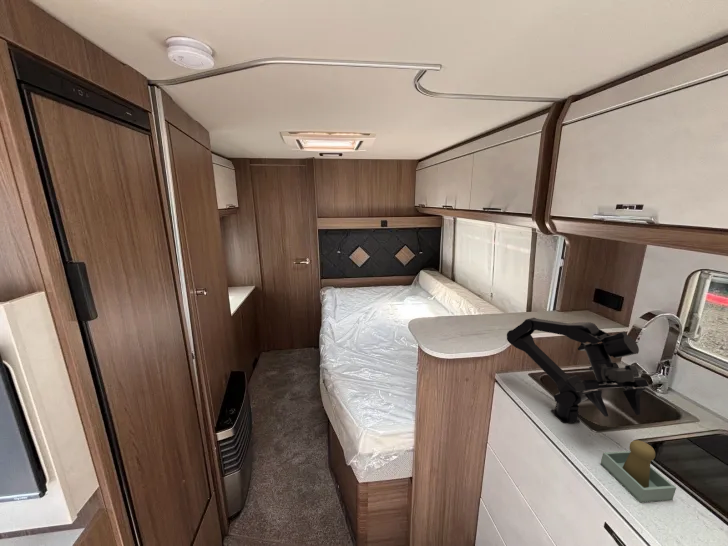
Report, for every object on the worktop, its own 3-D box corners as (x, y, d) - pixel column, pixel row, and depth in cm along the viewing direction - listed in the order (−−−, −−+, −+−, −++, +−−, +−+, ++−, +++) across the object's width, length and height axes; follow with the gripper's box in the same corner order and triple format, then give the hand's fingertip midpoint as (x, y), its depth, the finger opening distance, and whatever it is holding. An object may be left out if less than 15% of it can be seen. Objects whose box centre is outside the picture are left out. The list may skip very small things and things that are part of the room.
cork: (614, 469, 88) (623, 436, 85) (635, 469, 88) (644, 436, 86) (633, 488, 82) (642, 453, 79) (655, 488, 82) (665, 454, 80)
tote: (600, 463, 90) (603, 452, 89) (628, 462, 91) (632, 450, 90) (640, 502, 79) (643, 490, 78) (672, 500, 80) (676, 487, 79)
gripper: (586, 357, 91) (608, 415, 84) (650, 353, 91) (678, 412, 83) (566, 365, 101) (584, 418, 94) (623, 362, 101) (646, 414, 93)
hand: (622, 415), depth 91 cm, fingers open, 9 cm apart
